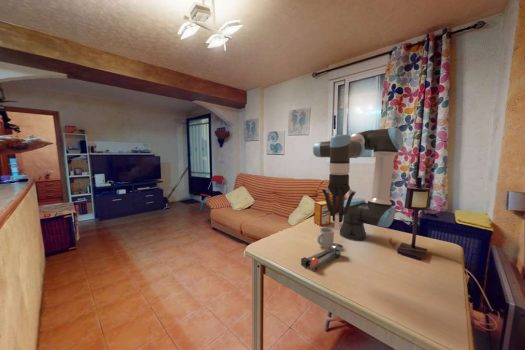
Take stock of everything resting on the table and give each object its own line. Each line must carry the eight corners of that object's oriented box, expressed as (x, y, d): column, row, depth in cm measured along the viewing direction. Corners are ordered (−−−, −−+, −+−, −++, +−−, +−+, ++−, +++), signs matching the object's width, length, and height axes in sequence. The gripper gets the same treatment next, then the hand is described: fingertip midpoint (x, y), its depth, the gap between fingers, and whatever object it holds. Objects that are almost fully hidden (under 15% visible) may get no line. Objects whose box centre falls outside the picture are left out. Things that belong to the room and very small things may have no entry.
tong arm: (334, 251, 103) (334, 242, 102) (344, 255, 99) (344, 246, 98) (307, 267, 89) (307, 256, 88) (317, 273, 85) (317, 262, 84)
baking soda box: (323, 221, 148) (324, 200, 146) (330, 224, 142) (331, 202, 140) (314, 223, 144) (314, 202, 142) (320, 226, 138) (321, 204, 136)
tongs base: (332, 251, 104) (332, 244, 103) (342, 256, 99) (342, 248, 98) (301, 265, 91) (301, 256, 91) (310, 271, 86) (311, 263, 86)
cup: (336, 246, 109) (336, 231, 108) (322, 250, 104) (322, 234, 103) (326, 241, 115) (327, 226, 114) (313, 244, 111) (313, 229, 110)
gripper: (358, 173, 80) (355, 229, 83) (325, 171, 87) (324, 223, 90) (355, 175, 73) (352, 235, 76) (320, 173, 81) (319, 228, 84)
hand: (337, 228), depth 83 cm, fingers closed
